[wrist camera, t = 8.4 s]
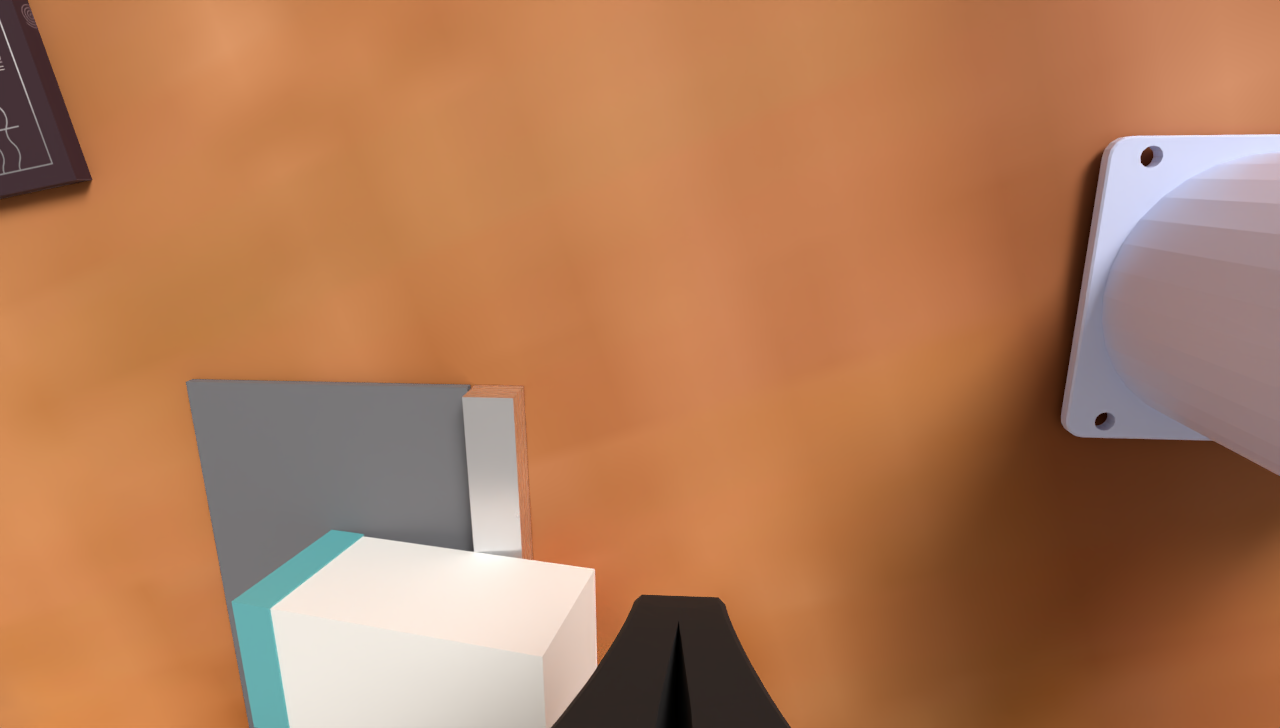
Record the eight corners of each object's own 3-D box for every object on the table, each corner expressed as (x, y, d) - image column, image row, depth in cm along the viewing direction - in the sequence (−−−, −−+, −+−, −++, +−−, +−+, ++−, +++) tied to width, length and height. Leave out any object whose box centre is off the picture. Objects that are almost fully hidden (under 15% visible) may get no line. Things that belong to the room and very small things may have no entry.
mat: (470, 384, 21) (467, 387, 21) (497, 760, 25) (495, 767, 25) (192, 379, 22) (185, 381, 22) (258, 744, 26) (253, 750, 26)
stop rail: (523, 386, 21) (513, 398, 20) (543, 763, 25) (535, 792, 24) (475, 385, 21) (462, 397, 20) (502, 760, 25) (492, 789, 24)
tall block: (541, 656, 17) (231, 601, 19) (548, 794, 18) (253, 727, 20) (595, 566, 21) (331, 529, 23) (598, 684, 22) (346, 638, 24)
